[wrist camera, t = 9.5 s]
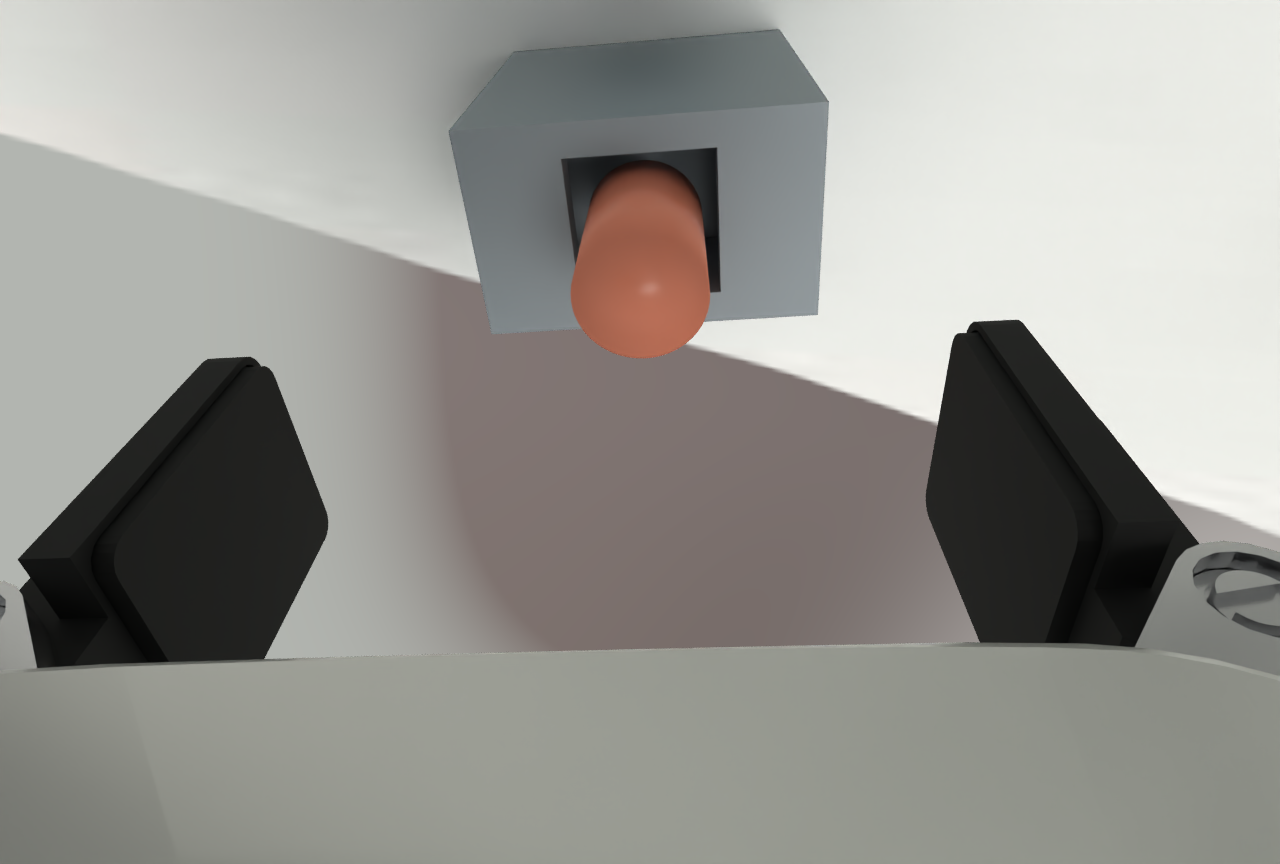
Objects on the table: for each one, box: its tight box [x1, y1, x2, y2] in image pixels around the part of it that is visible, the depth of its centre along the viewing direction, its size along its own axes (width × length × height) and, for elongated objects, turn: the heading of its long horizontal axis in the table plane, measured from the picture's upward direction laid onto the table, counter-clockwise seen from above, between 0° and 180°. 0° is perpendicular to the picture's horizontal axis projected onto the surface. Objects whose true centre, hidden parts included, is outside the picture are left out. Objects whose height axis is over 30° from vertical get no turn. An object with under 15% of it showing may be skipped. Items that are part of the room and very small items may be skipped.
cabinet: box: [449, 30, 829, 334], centre depth 25 cm, size 6×9×10 cm, turn 95°
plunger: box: [570, 160, 710, 358], centre depth 19 cm, size 3×3×5 cm
